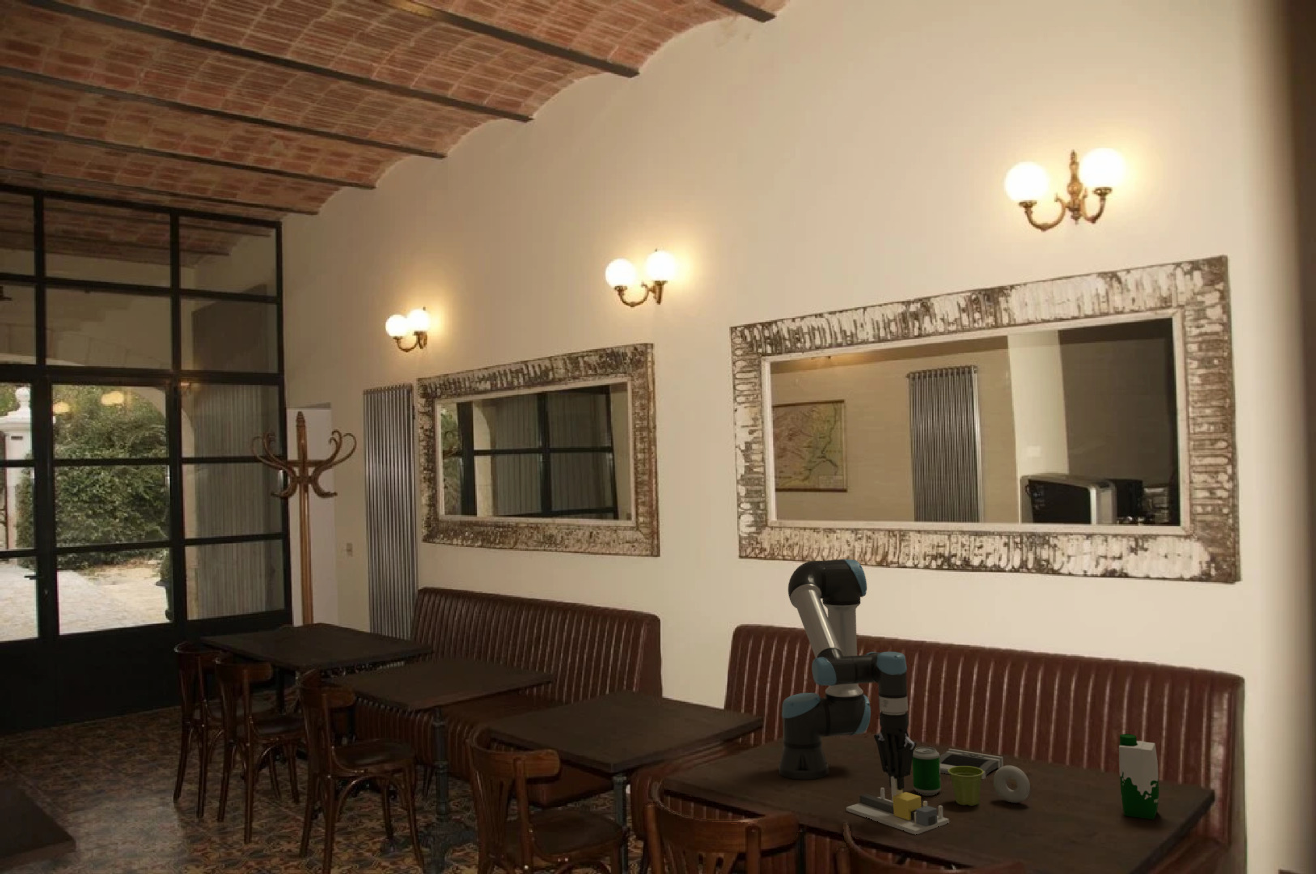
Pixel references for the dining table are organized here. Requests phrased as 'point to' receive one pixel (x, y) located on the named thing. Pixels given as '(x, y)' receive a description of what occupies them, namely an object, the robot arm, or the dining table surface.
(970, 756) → the alarm clock
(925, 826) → the white pegged slab
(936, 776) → the soda can
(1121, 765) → the milk carton
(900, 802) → the yellow sliding cube
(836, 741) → the dining table surface
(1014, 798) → the donut
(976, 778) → the plant pot
